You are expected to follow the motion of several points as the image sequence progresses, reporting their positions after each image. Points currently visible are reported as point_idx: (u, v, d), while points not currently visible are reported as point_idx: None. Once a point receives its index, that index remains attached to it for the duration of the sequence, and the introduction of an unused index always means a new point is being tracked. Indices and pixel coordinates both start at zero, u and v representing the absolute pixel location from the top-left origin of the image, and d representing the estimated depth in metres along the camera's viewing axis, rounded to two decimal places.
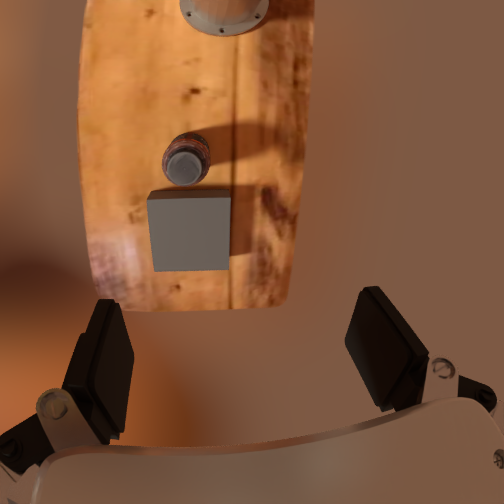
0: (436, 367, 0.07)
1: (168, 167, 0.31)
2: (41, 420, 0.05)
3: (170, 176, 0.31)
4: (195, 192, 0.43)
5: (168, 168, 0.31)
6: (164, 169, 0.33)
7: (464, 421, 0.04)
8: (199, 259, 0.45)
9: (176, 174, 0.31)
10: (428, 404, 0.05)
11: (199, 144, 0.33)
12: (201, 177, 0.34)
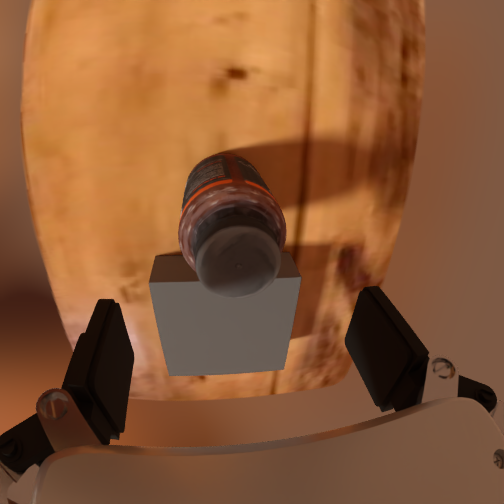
0: (436, 367, 0.07)
1: (199, 263, 0.13)
2: (41, 420, 0.05)
3: (204, 282, 0.14)
4: None
5: (199, 265, 0.13)
6: (185, 252, 0.15)
7: (464, 421, 0.04)
8: (240, 361, 0.28)
9: (219, 279, 0.14)
10: (428, 404, 0.05)
11: (266, 196, 0.15)
12: None
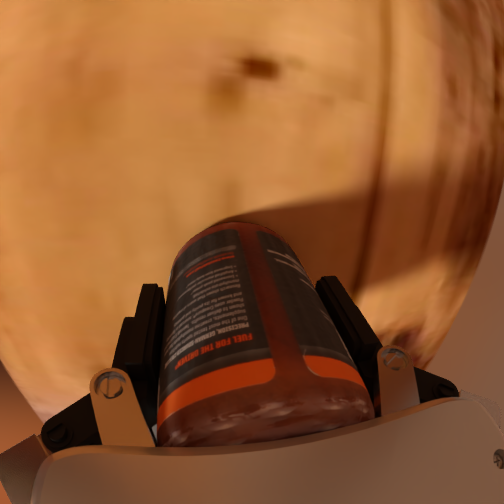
0: (387, 359, 0.08)
1: None
2: (97, 400, 0.06)
3: None
4: None
5: None
6: None
7: (464, 421, 0.04)
8: None
9: None
10: (428, 404, 0.05)
11: (354, 397, 0.06)
12: None
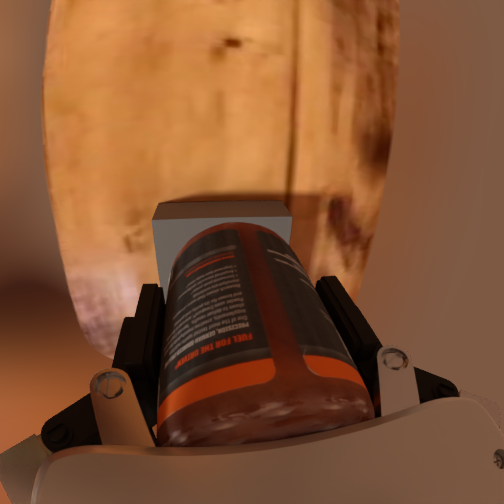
0: (387, 359, 0.08)
1: None
2: (97, 400, 0.06)
3: None
4: (231, 205, 0.27)
5: None
6: None
7: (464, 421, 0.04)
8: None
9: None
10: (428, 404, 0.05)
11: (354, 396, 0.06)
12: None
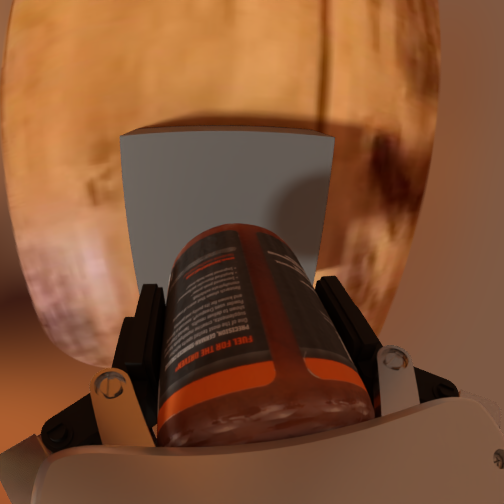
0: (387, 359, 0.08)
1: None
2: (97, 400, 0.06)
3: None
4: (241, 126, 0.17)
5: None
6: None
7: (464, 421, 0.04)
8: None
9: None
10: (428, 404, 0.05)
11: (354, 399, 0.06)
12: None
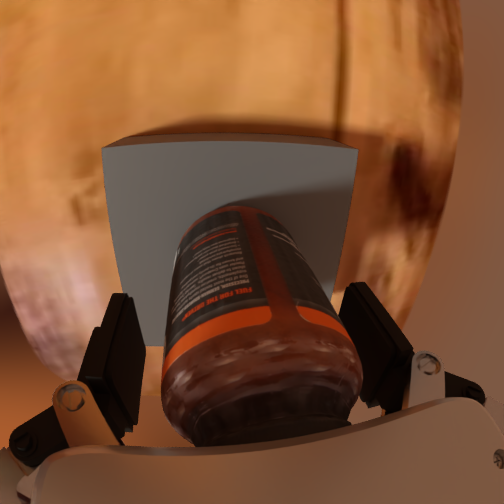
0: (421, 363, 0.07)
1: None
2: (58, 412, 0.05)
3: None
4: (246, 134, 0.15)
5: None
6: (177, 430, 0.07)
7: (464, 421, 0.04)
8: None
9: None
10: (428, 404, 0.05)
11: (341, 345, 0.07)
12: None
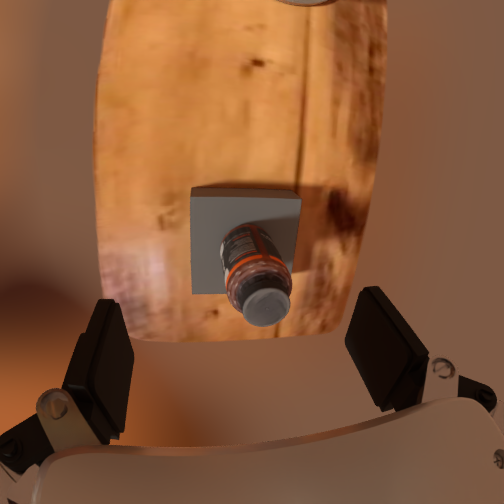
0: (436, 367, 0.07)
1: (245, 307, 0.23)
2: (41, 420, 0.05)
3: (246, 317, 0.23)
4: (252, 190, 0.33)
5: (245, 308, 0.23)
6: (231, 297, 0.25)
7: (464, 421, 0.04)
8: None
9: (255, 315, 0.23)
10: (428, 404, 0.05)
11: (282, 266, 0.25)
12: None
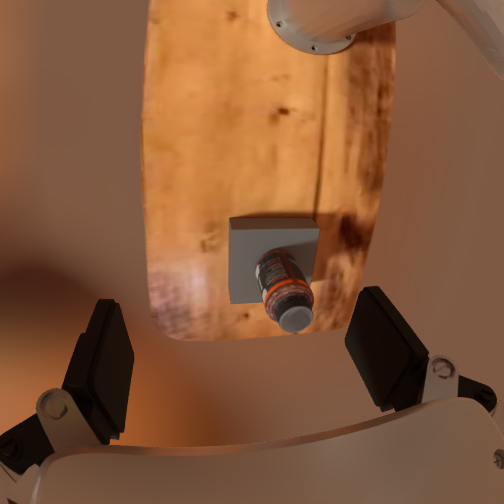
0: (436, 367, 0.07)
1: (281, 319, 0.31)
2: (41, 420, 0.05)
3: (281, 326, 0.32)
4: (279, 220, 0.41)
5: (281, 320, 0.31)
6: (269, 311, 0.34)
7: (464, 421, 0.04)
8: None
9: (287, 325, 0.32)
10: (428, 404, 0.05)
11: (307, 288, 0.33)
12: None
